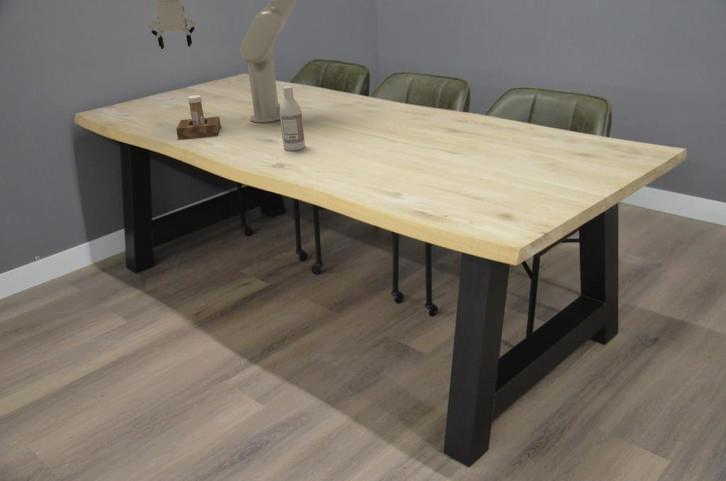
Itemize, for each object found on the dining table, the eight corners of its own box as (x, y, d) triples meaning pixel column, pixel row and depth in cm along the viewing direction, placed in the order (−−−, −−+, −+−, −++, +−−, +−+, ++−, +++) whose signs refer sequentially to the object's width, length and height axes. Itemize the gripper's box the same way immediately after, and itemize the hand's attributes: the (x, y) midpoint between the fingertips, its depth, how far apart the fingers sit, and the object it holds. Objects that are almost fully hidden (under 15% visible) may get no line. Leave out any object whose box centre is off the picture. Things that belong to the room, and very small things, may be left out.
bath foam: (307, 149, 233) (301, 87, 225) (287, 152, 231) (279, 90, 223) (301, 143, 239) (295, 83, 231) (281, 147, 237) (274, 86, 229)
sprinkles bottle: (208, 133, 260) (202, 96, 254) (196, 135, 258) (190, 98, 252) (204, 130, 264) (197, 94, 258) (192, 133, 261) (185, 96, 256)
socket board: (220, 127, 267) (219, 116, 265) (218, 135, 256) (216, 124, 254) (182, 130, 266) (180, 120, 264) (178, 139, 255) (176, 128, 253)
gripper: (193, -5, 261) (200, 43, 268) (145, -1, 259) (153, 47, 266) (191, -3, 254) (199, 46, 261) (141, 1, 253) (150, 51, 260)
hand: (176, 47), depth 264 cm, fingers open, 9 cm apart
